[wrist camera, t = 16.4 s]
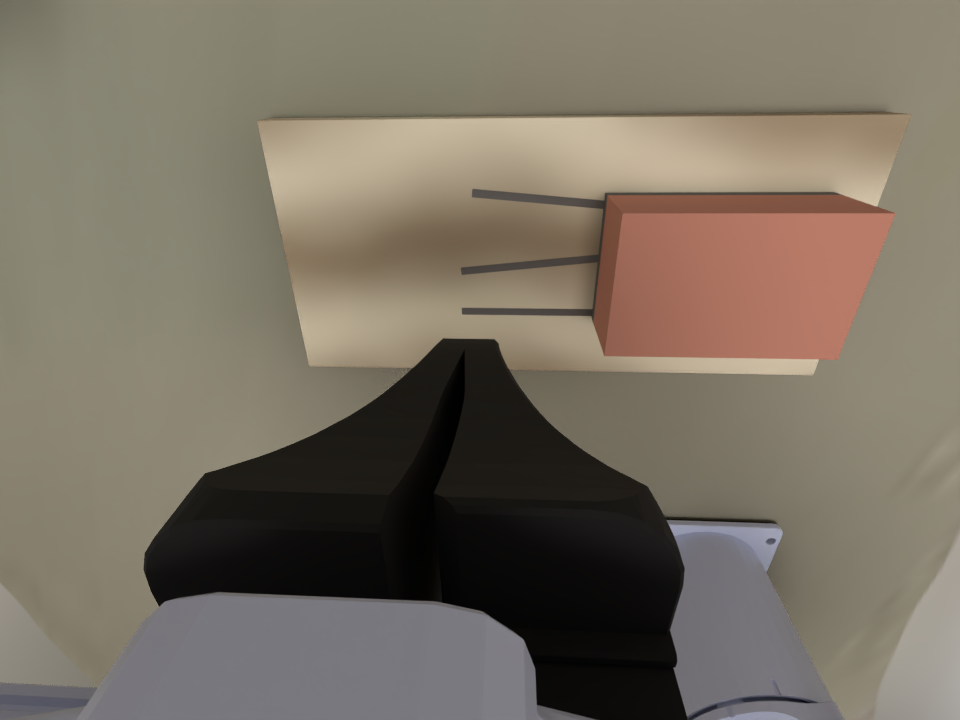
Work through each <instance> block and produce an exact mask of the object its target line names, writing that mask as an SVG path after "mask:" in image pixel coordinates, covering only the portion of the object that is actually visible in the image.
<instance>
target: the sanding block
mask: <svg viewBox="0 0 960 720" xmlns="http://www.w3.org/2000/svg"><path fill="white" fill-rule="evenodd" d="M895 214H896V213H893V212H890V211H887V210H885V209H882V208H879V207H876V206H873V205H870V204H867V203H864V202H862V201H859V200H856V199H853V198H850V197H847V196H844V195H842V194H839V193H836V192H626V193H605V199H604V209H603V218H602V227H601V236H600V245H599V255H598V264H597V273H596V282H595V291H594V300H593V310H592V321H593V324H594V327H595V330H596V333H597V336H598V339H599V342H600V345H601V348H602V351H603V354H604V356H624V357H691V358H757V359H823V360H838V357H839V355H840V352H841V350H842V347H843V345H844V342H845V339H846V337H847V334H848V332H849V329H850V327H851V324H852V322H853V319H854V317H855V314H856V312H857V309H858V307H859V304H860V302H861V299H862V297H863V294H864V292H865V289H866V287H867V284H868V282H869V279H870V277H871V274H872V272H873V269H874V267H875V264H876V262H877V259H878V257H879V254H880V252H881V249H882V247H883V244H884V242H885V239H886V237H887V234H888V232H889V229H890V226H891V224H892V221H893V219H894V216H895Z"/></svg>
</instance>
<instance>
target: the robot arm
mask: <svg viewBox="0 0 960 720" xmlns="http://www.w3.org/2000/svg"><path fill="white" fill-rule="evenodd" d="M782 535H783V532H782V530H781V528H780V527H779V525H777V524H772V523H742V522H711V521H681V520H666V519H665V517H664V515H663V513H662V511H661V509H660V507H659V506H658V504H657V502H656V500H655V498H654V497H653V495H652V493H651V491H650V490H649V488H648V487H647V486H645V485H644V484H642V483H640V482H638V481H636V480H634V479H632V478H630V477H628V476H626V475H624V474H622V473H620V472H618V471H616V470H614V469H612V468H611V467H609V466H607V465H605V464H604V463H602V462H600V461H599V460H597V459H596V458H594V457H593V456H591V455H589V454H588V453H586V452H585V451H583V450H582V449H581V448H579V447H578V446H576V445H575V444H574V443H572V442H571V441H570V440H569V439H567V438H566V437H565V436H564V435H562V434H561V433H560V432H559V431H558V430H556V429H555V428H554V427H553V426H552V425H551V424H550V423H549V422H548V421H547V420H546V419H545V418H544V417H543V416H542V415H541V414H540V412H539V411H538V410H537V409H536V408H535V407H534V405H533V404H532V403H531V402H530V400H529V399H528V398H527V396H526V395H525V394H524V392H523V391H522V390H521V388H520V387H519V385H518V384H517V382H516V381H515V379H514V377H513V376H512V374H511V372H510V371H509V369H508V367H507V365H506V363H505V361H504V359H503V356H502V354H501V351H500V348H499V343H498V342H497V341H496V340H495V339H450V338H443V339H442V340H441V341H440V342H439V343H438V344H436V345H435V346H434V347H433V348H432V350H431V351H430V352H429V353H428V354H427V355H426V356H425V357H424V358H423V359H422V360H421V361H420V362H419V363H418V364H417V365H416V366H414V367H413V368H412V369H411V370H410V371H409V372H408V373H407V374H406V375H405V376H404V377H403V378H401V379H400V380H399V381H398V382H397V383H395V384H394V385H393V386H392V387H391V388H389V389H388V390H387V391H386V392H384V393H383V394H382V395H380V396H379V397H378V398H376V399H375V400H373V401H372V402H371V403H369V404H368V405H366V406H364V407H363V408H361V409H360V410H358V411H357V412H355V413H353V414H352V415H350V416H348V417H347V418H345V419H343V420H341V421H339V422H337V423H335V424H333V425H331V426H330V427H328V428H326V429H324V430H322V431H320V432H318V433H316V434H314V435H312V436H310V437H308V438H305V439H303V440H301V441H298V442H296V443H294V444H291V445H289V446H286V447H284V448H281V449H279V450H276V451H274V452H271V453H268V454H266V455H263V456H260V457H257V458H254V459H251V460H248V461H244V462H241V463H238V464H235V465H232V466H229V467H225V468H222V469H219V470H216V471H212V472H208V473H205V474H204V475H203V476H202V478H201V479H200V480H199V481H198V482H197V484H196V485H195V486H194V487H193V489H192V490H191V491H190V492H189V494H188V495H187V496H186V498H185V499H184V500H183V501H182V503H181V504H180V505H179V507H178V508H177V509H176V510H175V512H174V513H173V514H172V516H171V517H170V518H169V519H168V521H167V522H166V523H165V525H164V526H163V527H162V529H161V530H160V531H159V532H158V534H157V535H156V536H155V538H154V539H153V541H152V542H151V544H150V546H149V547H148V549H147V551H146V552H145V558H144V572H145V575H146V578H147V581H148V584H149V587H150V590H151V592H152V594H153V596H154V598H155V599H156V601H157V603H158V605H159V607H158V608H157V609H156V610H155V611H154V612H153V613H152V614H151V615H150V616H149V617H148V618H146V619H145V620H144V621H143V622H142V624H141V625H140V627H139V628H138V629H137V631H136V632H135V634H134V635H133V637H132V638H131V640H130V641H129V643H128V644H127V646H126V647H125V649H124V650H123V652H122V653H121V655H120V656H119V657H118V659H117V660H116V662H115V663H114V665H113V666H112V668H111V669H110V671H109V672H108V674H107V675H106V677H105V678H104V680H103V681H102V683H101V684H100V686H99V687H98V688H92V687H91V688H90V687H73V686H55V685H54V686H53V685H36V684H18V683H17V684H16V683H0V720H845V719H844V718H843V716H842V714H841V712H840V710H839V709H838V707H837V705H836V703H835V702H833V700H832V698H831V696H830V694H829V693H828V691H827V689H826V687H825V685H824V683H823V681H822V679H821V677H820V675H819V673H818V671H817V669H816V667H815V666H814V664H813V662H812V660H811V658H810V656H809V654H808V652H807V650H806V648H805V646H804V644H803V642H802V640H801V639H800V637H799V635H798V633H797V631H796V629H795V627H794V625H793V623H792V621H791V619H790V617H789V615H788V613H787V611H786V610H785V608H784V606H783V604H782V602H781V600H780V598H779V596H778V594H777V592H776V590H775V588H774V586H773V584H772V583H771V581H770V579H769V577H768V575H767V570H768V568H769V566H770V563H771V561H772V559H773V556H774V554H775V551H776V549H777V547H778V544H779V542H780V540H781V537H782Z"/></svg>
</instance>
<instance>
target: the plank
mask: <svg viewBox="0 0 960 720" xmlns="http://www.w3.org/2000/svg"><path fill="white" fill-rule="evenodd" d="M911 115H912V114H902V113H891V112H855V113H754V114H652V115H550V116H448V117H347V118H270V119H264V120H258V121H257V123H258V127H259V132H260V137H261V142H262V146H263V151H264V156H265V160H266V165H267V170H268V174H269V179H270V184H271V189H272V193H273V198H274V203H275V207H276V212H277V217H278V222H279V226H280V231H281V236H282V240H283V245H284V250H285V254H286V259H287V264H288V269H289V273H290V278H291V283H292V287H293V292H294V297H295V301H296V306H297V311H298V316H299V320H300V325H301V330H302V334H303V339H304V344H305V348H306V353H307V358H308V363H309V366H322V367H379V368H413V367H414V366H416V365H417V364H418V363H419V362H420V361H421V360H422V359H423V358H424V357H425V356H426V355H427V354H428V353H429V352H430V351H431V350H432V348H433V347H434V346H435V345H436V344H438V343H439V342H440V341H441V340H442V339H443V338H450V339H495V340H496V341H497V342H498V343H499V348H500V351H501V354H502V356H503V359H504V361H505V363H506V365H507V367H508V369H509V370H551V371H608V372H665V373H723V374H780V375H813V374H814V372H815V369H816V366H817V364H818V361H819V359H757V358H691V357H624V356H604V354H603V351H602V348H601V345H600V342H599V339H598V336H597V333H596V330H595V327H594V324H593V321H592V310H593V300H594V291H595V282H596V273H597V264H598V255H599V245H600V236H601V227H602V218H603V209H604V199H605V193H626V192H836V193H839V194H842V195H844V196H847V197H850V198H853V199H856V200H859V201H862V202H864V203H867V204H870V205H873V206H876V207H877V205H878V202H879V200H880V197H881V194H882V192H883V189H884V186H885V184H886V181H887V179H888V176H889V173H890V171H891V168H892V165H893V163H894V160H895V157H896V155H897V152H898V149H899V147H900V144H901V142H902V139H903V136H904V134H905V131H906V128H907V126H908V123H909V120H910V118H911Z"/></svg>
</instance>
